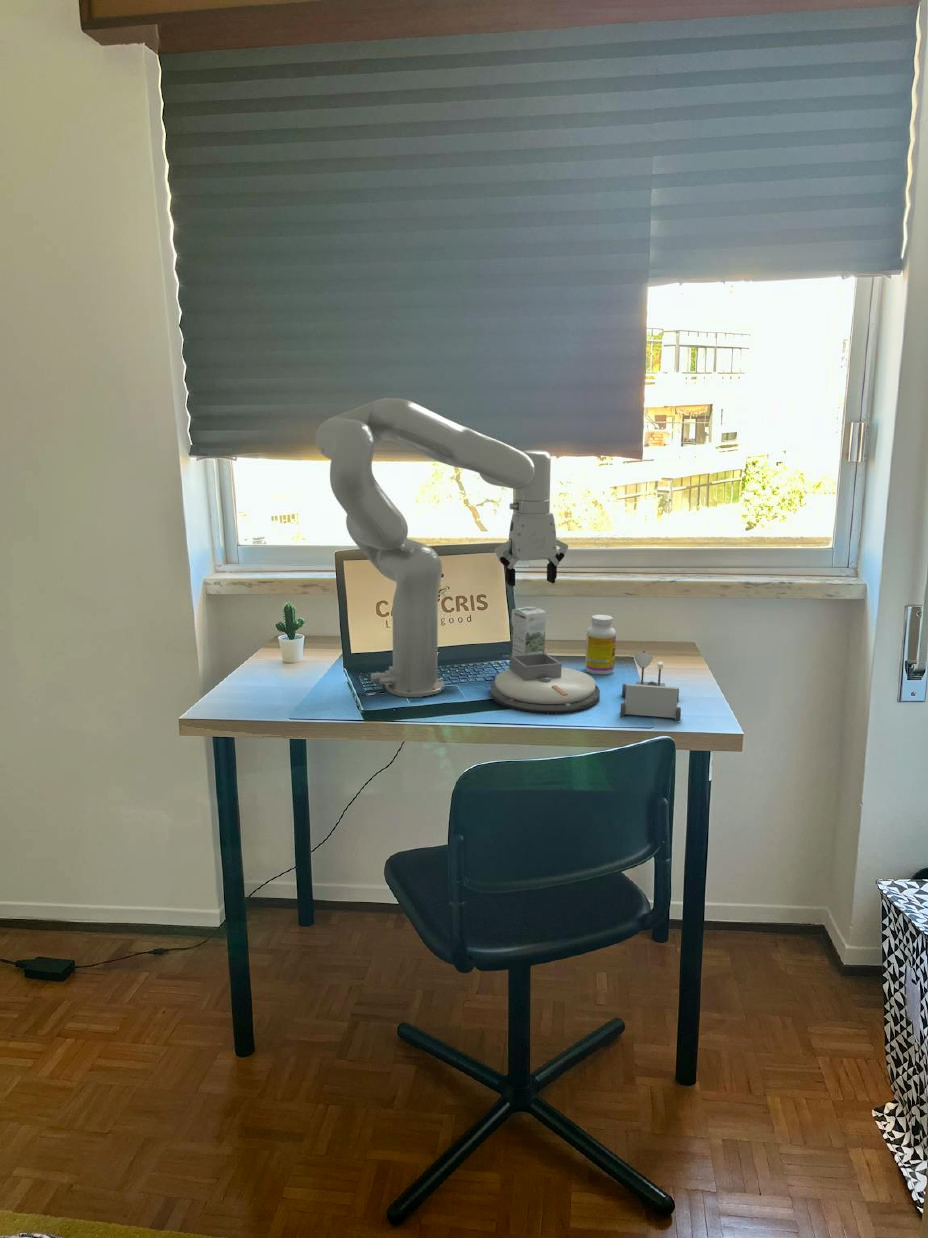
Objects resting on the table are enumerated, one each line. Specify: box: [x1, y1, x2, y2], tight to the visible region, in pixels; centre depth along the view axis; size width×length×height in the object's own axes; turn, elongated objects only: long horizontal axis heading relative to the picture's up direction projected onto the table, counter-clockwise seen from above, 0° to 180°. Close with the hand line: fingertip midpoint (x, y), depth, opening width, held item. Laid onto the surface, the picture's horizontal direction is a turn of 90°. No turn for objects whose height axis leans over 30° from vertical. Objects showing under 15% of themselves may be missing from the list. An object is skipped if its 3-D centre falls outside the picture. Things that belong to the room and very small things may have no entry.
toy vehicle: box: [619, 650, 682, 722], centre depth 185 cm, size 18×10×12 cm
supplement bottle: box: [584, 614, 617, 676], centre depth 207 cm, size 7×7×13 cm
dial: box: [494, 652, 596, 704], centre depth 190 cm, size 21×21×4 cm
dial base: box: [489, 680, 601, 715], centre depth 191 cm, size 23×23×2 cm
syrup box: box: [509, 606, 547, 657], centre depth 206 cm, size 6×6×14 cm
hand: (531, 583), depth 203 cm, fingers open, 9 cm apart
